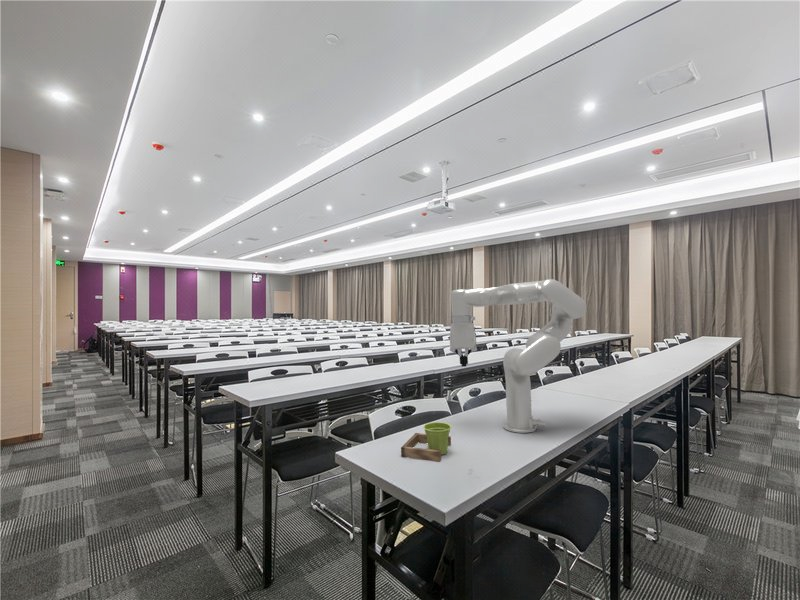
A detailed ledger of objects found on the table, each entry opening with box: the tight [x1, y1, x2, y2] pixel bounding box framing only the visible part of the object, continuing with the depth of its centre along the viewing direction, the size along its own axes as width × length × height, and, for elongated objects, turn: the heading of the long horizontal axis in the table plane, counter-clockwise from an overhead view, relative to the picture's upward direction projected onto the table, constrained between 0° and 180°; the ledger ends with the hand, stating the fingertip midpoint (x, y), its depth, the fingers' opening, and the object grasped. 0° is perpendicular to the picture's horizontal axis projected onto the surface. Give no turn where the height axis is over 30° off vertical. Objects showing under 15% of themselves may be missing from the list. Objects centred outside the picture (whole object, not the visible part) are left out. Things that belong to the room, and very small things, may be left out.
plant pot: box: [423, 421, 452, 456], centre depth 122 cm, size 9×9×9 cm
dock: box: [400, 432, 452, 463], centre depth 124 cm, size 13×15×3 cm
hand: (464, 366), depth 145 cm, fingers closed
